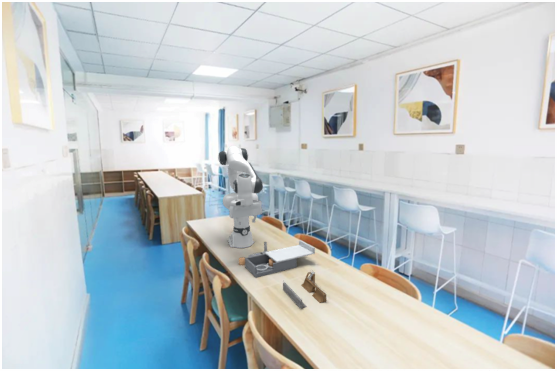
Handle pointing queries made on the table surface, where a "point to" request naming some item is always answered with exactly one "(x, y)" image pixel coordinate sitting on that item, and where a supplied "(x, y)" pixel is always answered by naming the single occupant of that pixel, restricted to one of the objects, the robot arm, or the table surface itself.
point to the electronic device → (260, 252)
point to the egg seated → (271, 262)
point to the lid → (291, 252)
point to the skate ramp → (309, 287)
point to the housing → (267, 265)
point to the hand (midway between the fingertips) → (246, 223)
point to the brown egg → (242, 261)
